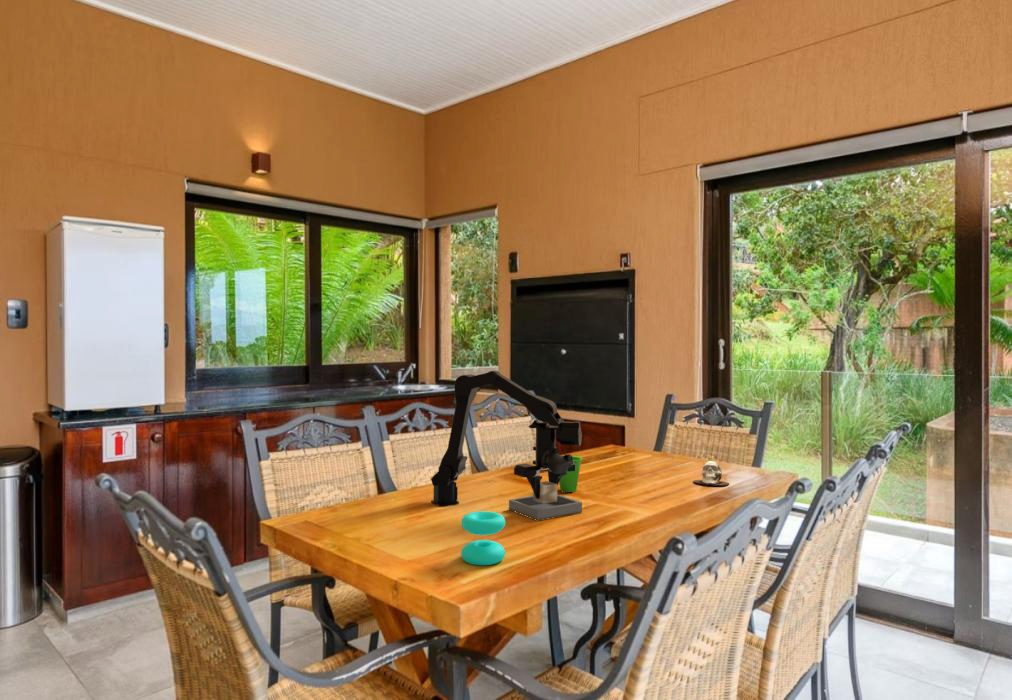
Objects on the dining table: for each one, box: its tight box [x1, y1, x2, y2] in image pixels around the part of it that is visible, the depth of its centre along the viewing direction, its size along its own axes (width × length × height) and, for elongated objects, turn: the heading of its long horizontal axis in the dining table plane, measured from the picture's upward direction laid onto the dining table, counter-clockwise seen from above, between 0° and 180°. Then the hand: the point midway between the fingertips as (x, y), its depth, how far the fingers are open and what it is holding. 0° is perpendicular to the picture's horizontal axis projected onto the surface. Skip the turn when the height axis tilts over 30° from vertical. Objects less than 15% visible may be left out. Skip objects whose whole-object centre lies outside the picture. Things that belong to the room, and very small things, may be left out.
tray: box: [508, 494, 583, 521], centre depth 187 cm, size 16×14×3 cm
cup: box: [558, 455, 583, 493], centre depth 213 cm, size 9×9×11 cm
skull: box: [692, 460, 730, 486], centre depth 226 cm, size 12×10×10 cm
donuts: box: [460, 510, 506, 566], centre depth 146 cm, size 10×10×10 cm
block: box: [532, 480, 558, 504], centre depth 187 cm, size 5×5×5 cm
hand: (545, 497), depth 187 cm, fingers closed on block, 5 cm apart
